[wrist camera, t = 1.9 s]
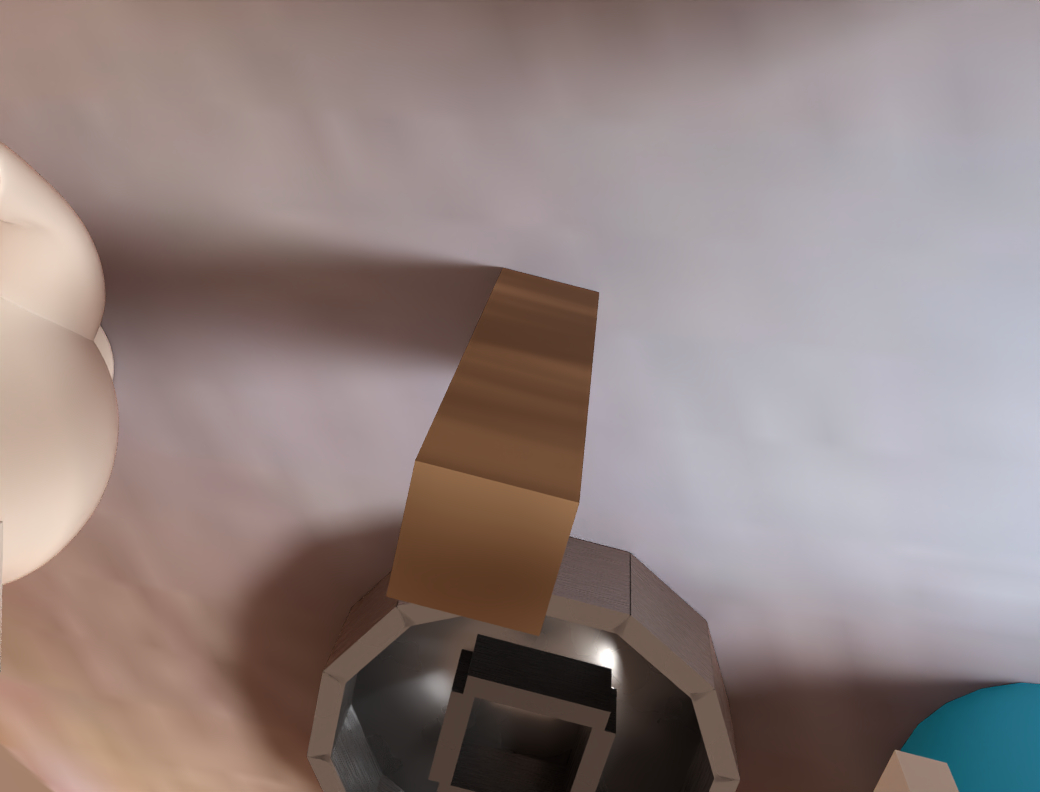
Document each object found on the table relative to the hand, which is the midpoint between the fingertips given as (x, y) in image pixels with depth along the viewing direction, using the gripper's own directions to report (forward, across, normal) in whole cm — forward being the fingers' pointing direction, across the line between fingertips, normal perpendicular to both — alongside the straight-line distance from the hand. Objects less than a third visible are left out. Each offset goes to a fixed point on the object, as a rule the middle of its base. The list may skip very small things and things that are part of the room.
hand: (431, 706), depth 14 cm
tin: (+17, +3, -14) cm, 22 cm away
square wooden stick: (+17, 0, 0) cm, 17 cm away
